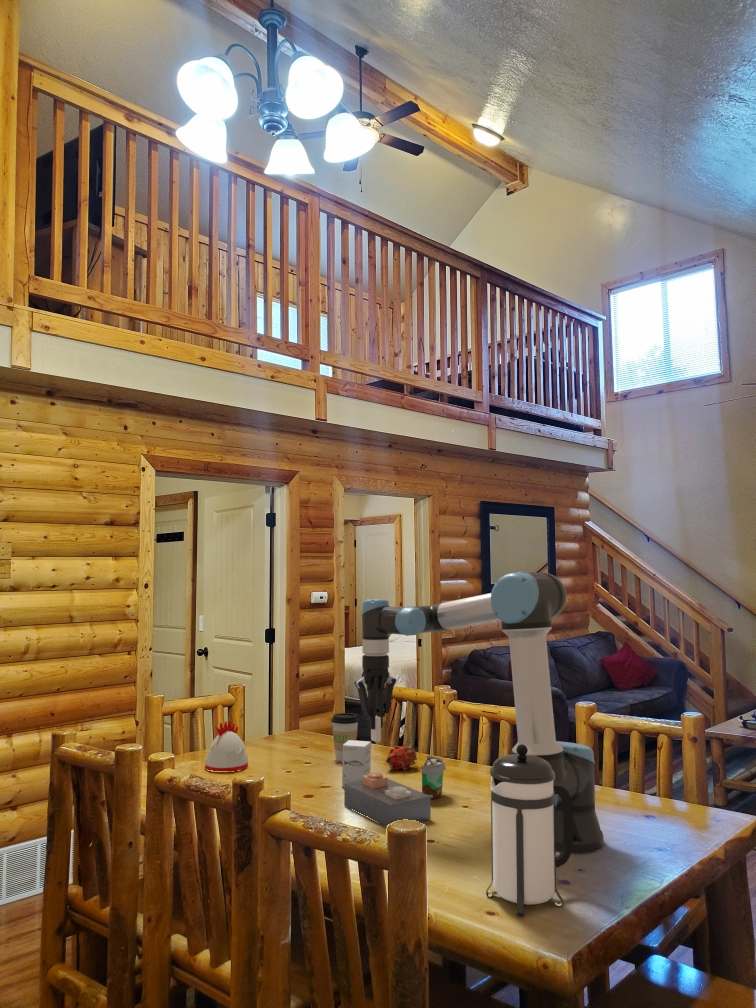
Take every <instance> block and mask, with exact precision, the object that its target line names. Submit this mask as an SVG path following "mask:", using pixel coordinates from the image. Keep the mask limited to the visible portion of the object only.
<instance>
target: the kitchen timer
mask: <svg viewBox="0 0 756 1008" xmlns="http://www.w3.org/2000/svg"><path fill="white" fill-rule="evenodd" d="M235 726H236V724H235V723H232V721H231V720H228V722H227V721H224V724H223V723H222V722H220V723H219V728H218V727H217V726H216V727H215V731H216V732H217V735H216V737H215V738H214V739H213V741H212V742H211V744H210V746H209V749H208V752H207V756H206V759H205V766H204V769H205V768H206V769H208V770H213V771H237V770H242V771H244V770H243V769H245V770H246V769H248V768H249V759H248V753H247V750H246V746H245V744H244V742H243V740H242V739H241V737H240V736H239V735H238V734H237V733H238V730H239V726H236V727H235ZM247 767H248V768H247ZM206 769H205V770H206Z"/></svg>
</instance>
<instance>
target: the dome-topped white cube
mask: <svg viewBox="0 0 756 1008" xmlns="http://www.w3.org/2000/svg"><path fill="white" fill-rule="evenodd" d="M385 795H387V796H389V797H391V798H393V799H401V798H405V797H410V796H411V792H410V791H407V789H406V788H404V787H392V788H390V790H385Z"/></svg>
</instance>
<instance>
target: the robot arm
mask: <svg viewBox="0 0 756 1008" xmlns="http://www.w3.org/2000/svg"><path fill="white" fill-rule="evenodd" d="M566 604H567V589H566V587H565V585H564V583H563V582H562V581H561V580H560V578H558V577H557V576H556V575H553V574H551V573H549V572H530V571H517V572H510V573H507V574H505V575H503V576H501V577H500V578H499V579H498V580H497V581H496V583H495V584H494V585H493V587H492V589H491V592H489V593H483V594H480V595H475V596H470V597H466V598H460V599H456V600H450V601H446V602H442V603H436V604H432V605H422V606H421V605H419V606H418V605H417V606H390V604H389V600H388V599H386V598H385V599H383V598H372V599H371V598H369V599H365V600H363V602H362V609H361V610H362V611H361V622H362V624H361V625H362V627H361V629H362V631H361V632H362V637H361V640H362V642H361V644H362V646H361V647H362V650H361V651H362V654H363V655H362V657H361V658H362V659H361V663H362V665H361V666H362V673H361V678H359V680H354V686H355V687H356V690H357V693H358V699H359V703H360V709H361V714H363V715H364V716H367V717H368V728H369V729H370V740H371V742H372V741H373V742H376V743H378V742H381V741H382V729H383V726H384V718H385V717H386V714H389V712H390V709H391V708H390V707H391V703H392V702H391V701H392V697H393V694H394V693H393V692H394V687H395V685H396V683H397V678H395V677H392V676H391V675H390V672H389V668H390V656H389V655H388V654H389V652H390V634H391V635H399V636H400V635H402V636H408V637H409V636H418V635H420V634H423V633H424V634H426V633H441V632H443V631H446V630H451V629H457V628H458V629H459V628H463V627H468V626H475V625H479V624H485V623H491V622H498V621H500V623H501V632H503V633H504V634H505V635H506V636H507V637H508V641H509V651H510V663H511V664H510V665H511V675H512V687H513V697H514V698H513V699H514V710H515V720H516V721H515V722H516V731H517V733H516V734H517V743H516V744H515V745H514V747H513V748H512V750H511V753H512V754H518V753H517V751H516V749H517V746H518V745H520V744H523V745H525V746H526V747H527V750H528V751H527V754H526V755H532V756H536V757H540V758H542V759H544V760H546V761H547V762H548V763H549V764H550V765H551V767H552V770H553V771H554V772H555V779H554V781H553V785H559V786H562V787H564V788H565V789H566V790H567V791H568V793H569V795H570V797H571V802H572V814H573V847H572V852H571V854H588V852H590V853H594V852H593V851H595V852H597V851H596V850H598V851H600V850H602V849H603V848H604V846H603V845H605V842H604V841H605V840H604V833H603V831H602V830H601V826H600V822H599V819H598V815H597V812H596V788H595V787H596V783H595V781H596V780H595V777H596V775H595V774H596V773H595V764H596V761H595V757H594V751H593V749H592V748H591V746H588V745H585V744H580V743H577V742H576V743H575V742H570V741H569V742H568V741H560V740H559V741H558V740H557V739H556V731H555V730H556V728H555V719H554V709H553V698H552V696H553V695H552V686H551V676H550V668H549V667H550V666H549V654H548V644H547V635H548V634H549V632H550V631H551V630H552V628H553V627H552V619H553V618H555V617H557V616H558V615H560V614H561V613H562V611H563V610H564V608H565V606H566ZM512 754H511V755H512ZM555 837H556V851H559V852H561V851H562V848H563V804H562V800H561V797H560V796H559V795H558V794H555ZM602 847H603V848H602ZM601 848H602V849H601ZM599 849H600V850H599ZM554 851H555V843H554Z"/></svg>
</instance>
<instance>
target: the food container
mask: <svg viewBox="0 0 756 1008" xmlns="http://www.w3.org/2000/svg"><path fill="white" fill-rule="evenodd" d="M444 761H445V760H444V759H442V758H441V757H437V756H434V755H433V756H432V755H427V756H426V761H425V762H424V765H423V764H422V765H421V792H422V793H424V794H426V795H429V796H430V799H431V802H432V801H438V800H440V799H441V798H442V796H443V784H444V783H443V781H444V780H443V779H444V771H445V770H446V763H445V762H444Z"/></svg>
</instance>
